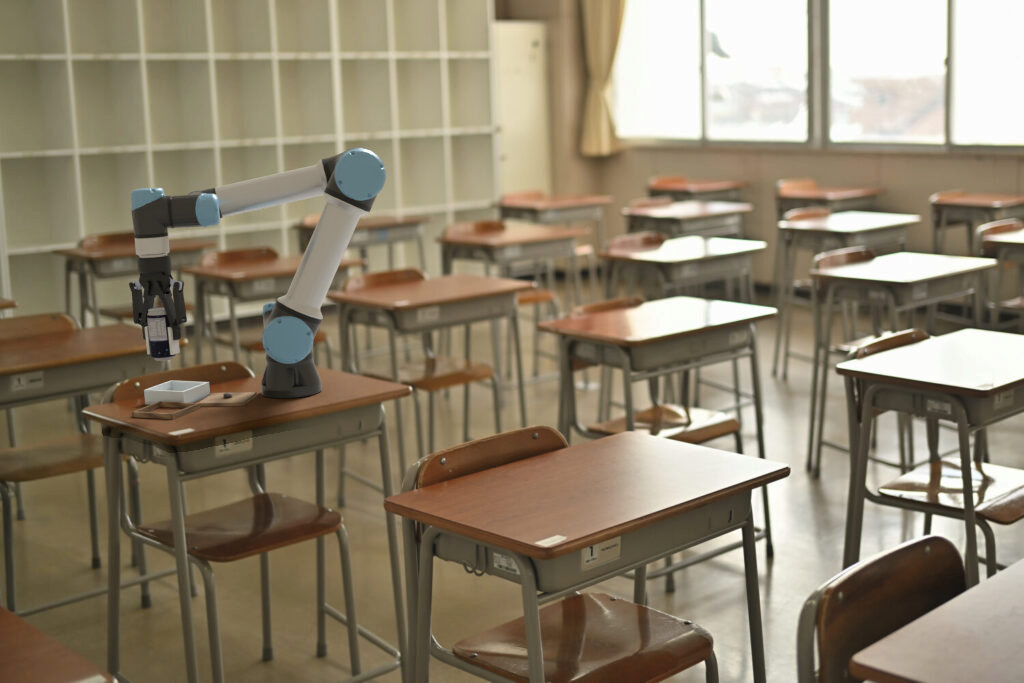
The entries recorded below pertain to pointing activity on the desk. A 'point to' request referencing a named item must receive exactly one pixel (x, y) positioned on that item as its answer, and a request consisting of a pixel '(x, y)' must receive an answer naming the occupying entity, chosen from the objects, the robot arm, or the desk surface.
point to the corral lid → (228, 399)
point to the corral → (146, 414)
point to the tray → (177, 392)
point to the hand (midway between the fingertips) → (163, 353)
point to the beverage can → (159, 334)
